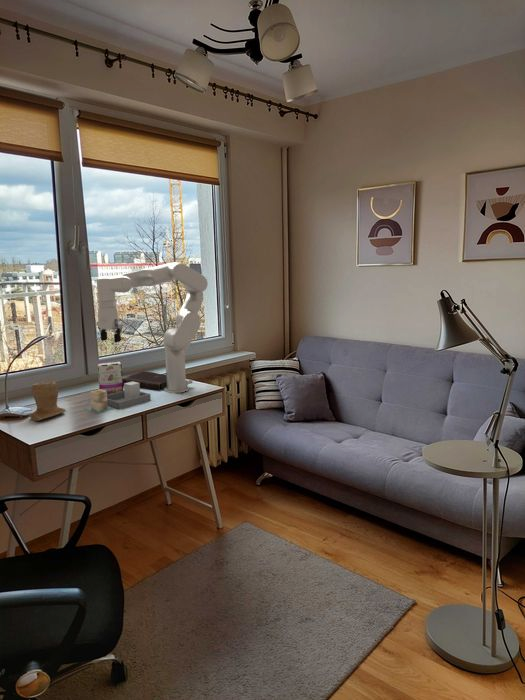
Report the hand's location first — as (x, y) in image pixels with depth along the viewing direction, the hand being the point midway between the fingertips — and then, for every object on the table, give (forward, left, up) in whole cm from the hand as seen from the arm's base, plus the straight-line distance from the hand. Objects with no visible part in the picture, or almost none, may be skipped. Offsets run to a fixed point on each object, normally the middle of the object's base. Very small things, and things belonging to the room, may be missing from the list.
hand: (110, 341), depth 232 cm
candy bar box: (-3, -7, -29) cm, 30 cm away
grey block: (-4, +8, -28) cm, 29 cm away
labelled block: (+14, +8, -28) cm, 32 cm away
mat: (+14, +8, -28) cm, 33 cm away
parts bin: (0, +8, -28) cm, 29 cm away
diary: (-28, -8, -29) cm, 41 cm away
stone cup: (+33, -3, -29) cm, 44 cm away
